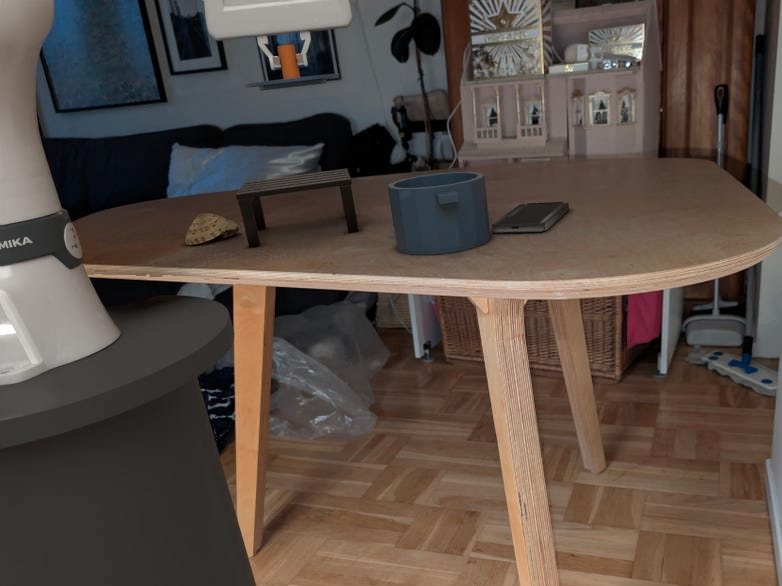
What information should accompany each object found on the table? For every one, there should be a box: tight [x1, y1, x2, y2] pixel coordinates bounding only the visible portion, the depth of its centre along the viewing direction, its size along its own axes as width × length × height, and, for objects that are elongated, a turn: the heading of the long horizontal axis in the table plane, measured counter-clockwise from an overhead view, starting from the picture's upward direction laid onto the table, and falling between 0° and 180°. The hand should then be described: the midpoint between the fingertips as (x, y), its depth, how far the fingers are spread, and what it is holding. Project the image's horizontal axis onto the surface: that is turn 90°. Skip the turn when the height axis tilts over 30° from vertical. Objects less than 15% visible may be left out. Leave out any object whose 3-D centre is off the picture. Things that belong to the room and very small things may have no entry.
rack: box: [235, 168, 360, 249], centre depth 113 cm, size 17×16×8 cm
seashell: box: [184, 212, 242, 246], centre depth 115 cm, size 8×6×8 cm
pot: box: [387, 171, 491, 256], centre depth 94 cm, size 13×18×8 cm
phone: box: [491, 201, 570, 234], centre depth 102 cm, size 8×1×15 cm
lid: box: [244, 44, 340, 92], centre depth 102 cm, size 14×14×6 cm
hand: (290, 68), depth 102 cm, fingers closed on lid, 2 cm apart
